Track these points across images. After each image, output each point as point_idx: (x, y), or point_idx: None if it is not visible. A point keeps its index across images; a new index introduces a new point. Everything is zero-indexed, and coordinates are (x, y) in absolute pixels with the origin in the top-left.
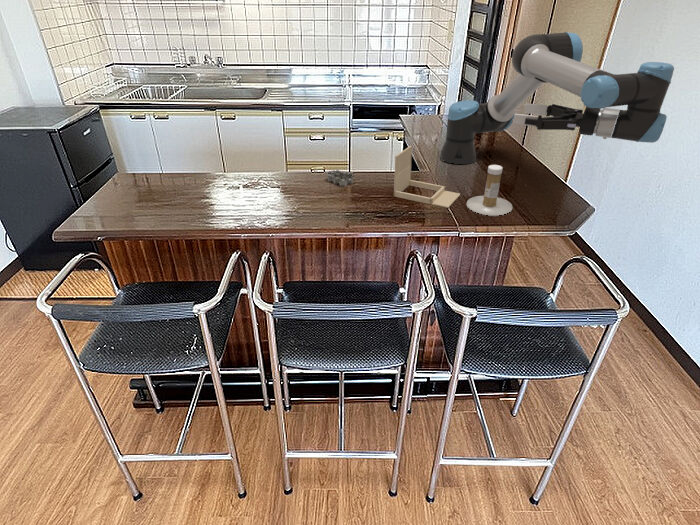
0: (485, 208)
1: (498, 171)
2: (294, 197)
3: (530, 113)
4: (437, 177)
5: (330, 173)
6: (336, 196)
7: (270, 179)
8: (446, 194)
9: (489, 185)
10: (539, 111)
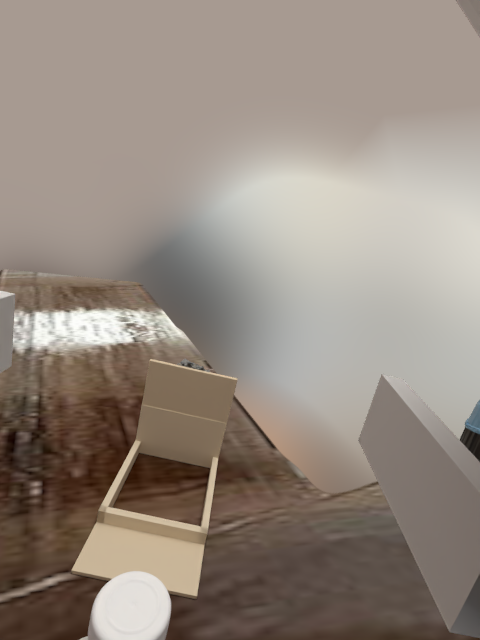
0: None
1: (93, 635)
2: (102, 352)
3: (378, 479)
4: (295, 518)
5: (191, 366)
6: (115, 383)
7: (161, 336)
8: (175, 552)
9: None
10: (422, 519)
